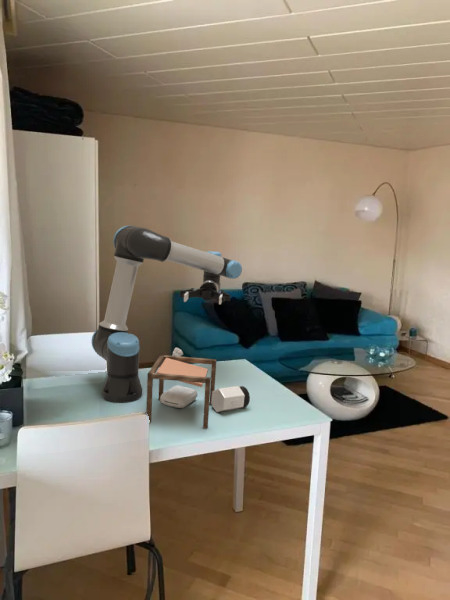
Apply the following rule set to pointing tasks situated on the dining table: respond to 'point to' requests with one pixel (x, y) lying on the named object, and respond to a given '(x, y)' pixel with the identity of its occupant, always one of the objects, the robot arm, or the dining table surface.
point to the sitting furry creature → (177, 352)
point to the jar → (230, 398)
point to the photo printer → (178, 396)
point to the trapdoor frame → (162, 377)
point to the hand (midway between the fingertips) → (202, 299)
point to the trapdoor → (182, 370)
